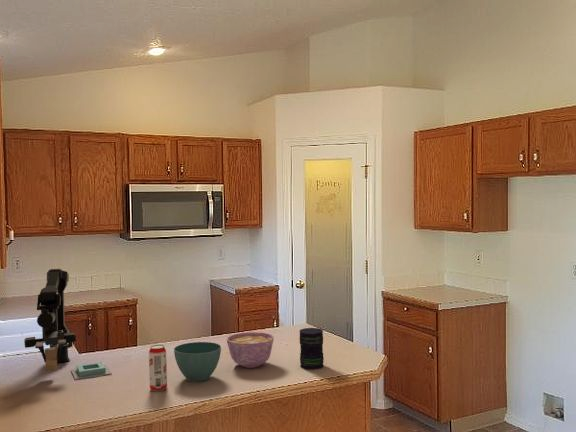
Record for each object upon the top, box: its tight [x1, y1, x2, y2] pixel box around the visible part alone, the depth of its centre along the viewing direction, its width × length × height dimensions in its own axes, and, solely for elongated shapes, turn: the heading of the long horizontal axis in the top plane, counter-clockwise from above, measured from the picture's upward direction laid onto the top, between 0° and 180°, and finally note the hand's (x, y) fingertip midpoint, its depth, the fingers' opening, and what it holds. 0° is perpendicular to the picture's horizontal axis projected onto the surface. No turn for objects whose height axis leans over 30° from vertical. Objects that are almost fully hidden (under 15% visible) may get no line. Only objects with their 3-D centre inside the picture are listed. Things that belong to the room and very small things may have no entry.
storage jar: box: [299, 327, 325, 371], centre depth 239 cm, size 10×10×15 cm
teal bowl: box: [173, 341, 222, 383], centre depth 226 cm, size 18×18×12 cm
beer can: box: [148, 344, 168, 393], centre depth 214 cm, size 6×6×16 cm
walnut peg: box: [44, 347, 58, 372], centre depth 229 cm, size 4×4×8 cm
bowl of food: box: [226, 331, 275, 369], centre depth 243 cm, size 20×20×12 cm
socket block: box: [70, 361, 112, 381], centre depth 237 cm, size 14×14×2 cm
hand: (51, 361), depth 230 cm, fingers closed on walnut peg, 4 cm apart
